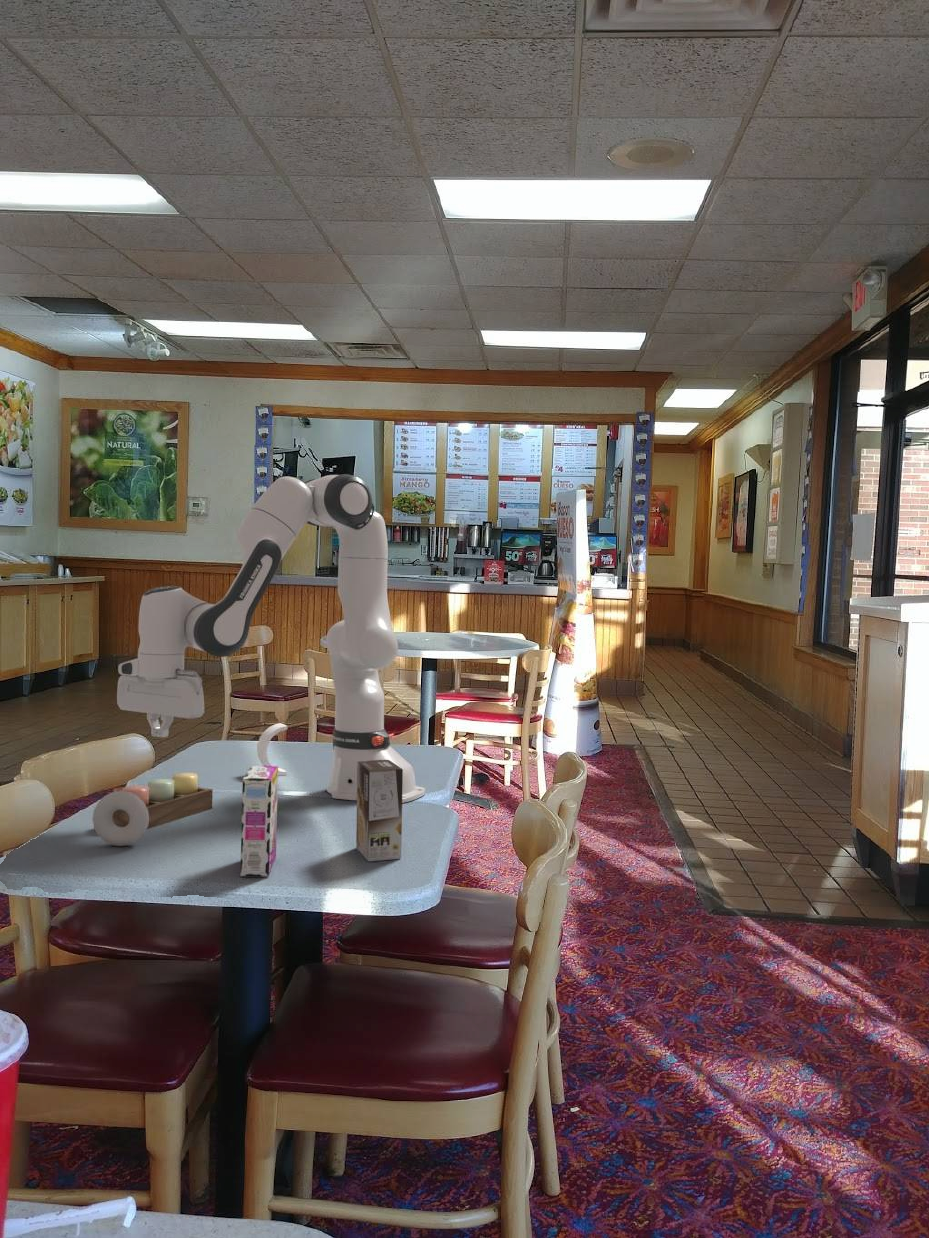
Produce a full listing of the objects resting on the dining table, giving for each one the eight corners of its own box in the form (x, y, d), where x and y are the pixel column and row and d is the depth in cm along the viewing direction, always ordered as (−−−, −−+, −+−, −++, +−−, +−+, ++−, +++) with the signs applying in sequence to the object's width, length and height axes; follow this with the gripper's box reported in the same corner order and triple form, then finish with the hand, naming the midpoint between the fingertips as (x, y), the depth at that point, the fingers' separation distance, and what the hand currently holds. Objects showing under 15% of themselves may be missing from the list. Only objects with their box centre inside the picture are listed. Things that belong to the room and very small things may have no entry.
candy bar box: (270, 877, 158) (271, 779, 157) (239, 878, 157) (240, 778, 156) (278, 857, 169) (279, 764, 168) (249, 857, 168) (250, 764, 167)
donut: (151, 843, 175) (151, 789, 175) (145, 849, 172) (145, 793, 171) (96, 842, 175) (96, 788, 175) (89, 848, 172) (89, 792, 171)
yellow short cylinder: (202, 793, 200) (202, 774, 200) (185, 798, 196) (185, 779, 195) (184, 790, 202) (184, 771, 202) (167, 795, 198) (167, 776, 198)
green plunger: (179, 800, 194) (179, 780, 194) (161, 805, 190) (161, 785, 189) (160, 797, 196) (160, 777, 196) (142, 802, 192) (142, 782, 192)
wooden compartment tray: (212, 808, 201) (212, 789, 201) (134, 832, 182) (134, 811, 182) (183, 803, 204) (184, 784, 204) (104, 826, 185) (104, 806, 185)
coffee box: (402, 859, 169) (404, 768, 168) (367, 862, 167) (369, 771, 166) (387, 844, 178) (389, 758, 177) (354, 847, 175) (355, 760, 175)
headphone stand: (286, 775, 234) (287, 726, 233) (262, 777, 231) (263, 727, 230) (280, 771, 238) (281, 723, 237) (256, 773, 235) (257, 724, 234)
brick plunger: (154, 807, 188) (154, 787, 188) (134, 813, 183) (135, 792, 183) (135, 804, 190) (135, 784, 190) (115, 809, 186) (115, 789, 186)
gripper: (212, 670, 189) (210, 739, 190) (135, 662, 199) (134, 729, 199) (189, 672, 184) (188, 744, 185) (112, 664, 193) (110, 733, 194)
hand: (159, 736), depth 192 cm, fingers closed
